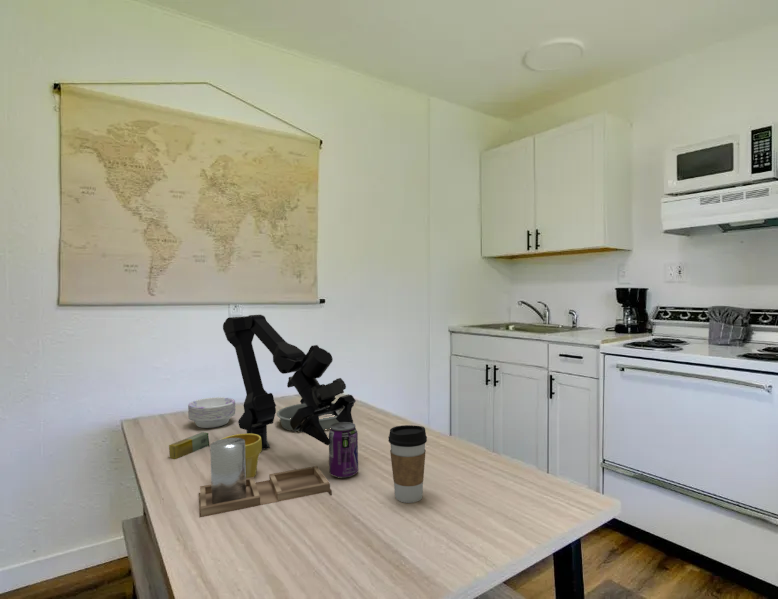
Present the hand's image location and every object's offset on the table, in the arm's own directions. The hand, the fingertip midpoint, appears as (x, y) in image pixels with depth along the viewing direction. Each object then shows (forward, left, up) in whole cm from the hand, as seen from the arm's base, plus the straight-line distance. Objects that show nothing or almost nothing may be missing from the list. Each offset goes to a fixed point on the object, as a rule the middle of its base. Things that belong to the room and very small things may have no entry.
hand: (342, 438), depth 112 cm
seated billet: (+4, -27, -8) cm, 28 cm away
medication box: (-35, -35, -9) cm, 50 cm away
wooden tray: (+4, -19, -9) cm, 22 cm away
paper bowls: (-61, -28, -9) cm, 67 cm away
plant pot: (-7, -24, -9) cm, 26 cm away
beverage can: (0, 0, -9) cm, 9 cm away
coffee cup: (+18, +9, -9) cm, 22 cm away
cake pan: (-47, +4, -9) cm, 48 cm away
